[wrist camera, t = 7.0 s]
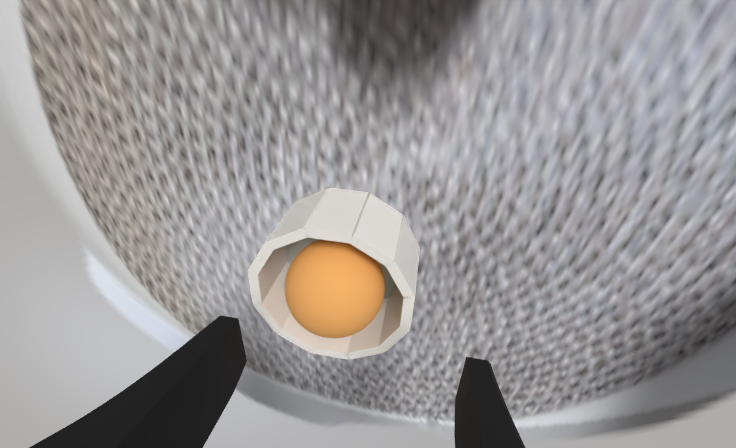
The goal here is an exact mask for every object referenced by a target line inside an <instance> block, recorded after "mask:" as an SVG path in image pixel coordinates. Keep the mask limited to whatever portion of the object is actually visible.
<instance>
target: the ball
mask: <svg viewBox="0 0 736 448" xmlns="http://www.w3.org/2000/svg"><path fill="white" fill-rule="evenodd" d="M384 294H385V281H384V275H383V272H382V269H381V266H380V264H379V262H378V261H377V260H375V259H373V258H372V257H370V256H369V255H367V254H366V253H364V252H362V251H361V250H359V249H358V248H356V247H355V246H353V245H351V244H350V243H343V242H336V241H329V240H322V239H320V240H317V241H315V242H313V243H311V244H309V245H308V246H306V247H305V248H304V249H302V250H301V251H300V252H299V253H298V254H297V256H296V257H295V258H294V260H293V261H292V263H291V265H290V267H289V269H288V272H287V275H286V279H285V297H286V302H287V305H288V308H289V310H290V312H291V314H292V315H293V317H294V318H295V320H296V321H297V322H298V323H299V324H300V325H301V326H302V327H303V328H305V329H306V330H308V331H309V332H311V333H313V334H315V335H318V336H321V337H326V338H343V337H347V336H350V335H353V334H355V333H357V332H359V331H361V330H362V329H364V328H365V327H366V326H367V325H368V324H370V323H371V322H372V320H373V319H374V318H375V317H376V315H377V313H378V312H379V310H380V308H381V305H382V302H383V299H384Z"/></svg>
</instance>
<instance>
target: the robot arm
mask: <svg viewBox="0 0 736 448" xmlns="http://www.w3.org/2000/svg"><path fill="white" fill-rule="evenodd" d="M246 361H247V360H246V355H245V350H244V345H243V340H242V335H241V330H240V325H239V320H238V318H232V317H226V316H219V317H218V318H217V319H216V320H214V321H213V322H212V323H210V324H209V325H208V326H207V327H205V328H204V329H203V330H202V331H201V332H199V333H198V334H197V335H196V336H194V337H193V338H192V339H191V340H189V341H188V342H187V343H186V344H184V345H183V346H182V347H181V348H179V349H178V350H177V351H176V352H174V353H173V354H172V355H170V356H169V357H168V358H167V359H165V360H164V361H163V362H162V363H160V364H159V365H158V366H156V367H155V368H154V369H152V370H151V371H150V372H148V373H147V374H146V375H144V376H143V377H141V378H140V379H139V380H137V381H136V382H135V383H133V384H132V385H131V386H129V387H128V388H126V389H125V390H124V391H122V392H120V393H119V394H118V395H116V396H115V397H113V398H112V399H110V400H109V401H107V402H106V403H104V404H103V405H101V406H99V407H98V408H97V409H95V410H93V411H92V412H90V413H88V414H87V415H85V416H84V417H82V418H80V419H79V420H77V421H76V422H74V423H72V424H70V425H69V426H67V427H65V428H63V429H61V430H60V431H58V432H56V433H54V434H53V435H51V436H49V437H47V438H46V439H44V440H42V441H40V442H39V443H37V444H35V445H34V446H31V447H30V448H203V446H204V444H205V442H206V441H207V439H208V437H209V435H210V434H211V432H212V430H213V428H214V426H215V425H216V423H217V421H218V419H219V418H220V416H221V414H222V412H223V410H224V409H225V407H226V405H227V403H228V401H229V400H230V398H231V396H232V394H233V392H234V390H235V388H236V386H237V383H238V381H239V379H240V376H241V374H242V371H243V369H244V366H245V364H246ZM455 448H525V446H524V444H523V442H522V440H521V437H520V435H519V433H518V431H517V429H516V427H515V425H514V422H513V420H512V418H511V416H510V413H509V411H508V409H507V406H506V404H505V402H504V399H503V397H502V394H501V392H500V389H499V387H498V384H497V381H496V378H495V376H494V373H493V370H492V367H491V364H490V363H489V362H488V361H487V360H481V359H475V358H469V357H466V361H465V365H464V368H463V372H462V376H461V380H460V384H459V388H458V391H457V395H456V399H455Z"/></svg>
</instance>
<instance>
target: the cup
mask: <svg viewBox="0 0 736 448" xmlns="http://www.w3.org/2000/svg"><path fill="white" fill-rule="evenodd" d="M402 216H403V214H401V213H400V212H398V211H397V210H395V209H394V208H392V207H391V206H389V205H388V204H386V203H385V202H383V201H382V200H380V199H379V198H377V197H376V196H374V195H373V194H371V193H370V194H369V195H368V192H362V191H354V190H346V189H338V188H329V189H328V188H326V189H323V190H321V191H319V192H316V193H314V194H311V195H309V196H307V197H304V198H302V199H299V200H297V201H296V202H294V204H293V205H292V206H291V208H290V209H289V211H288V212H287V213H286V215H285V216H284V217H283V219H282V220H281V221H280V223H279V224H278V225H277V227H276V228H275V230H274V231H273V232H272V234H271V235H270V236H269V238H268V239H267V240H266V242H265V243H264V245H263V246H262V248H261V250H260V251H259V253H258V255H257V256H256V258H255V260H254V261H253V263H252V265H251V266H250V268H249V270H248V277H249V284H250V290H251V297H252V303H253V304H254V307H255V308H256V309H257V310H258V312H259V313H260V314H261V315H262V317H263V318H264V319H265V320H266V322H267V323H268V324H269V325H270V327H271V328H272V329H273V330H274V332H275V333H276V332H277V334H278V335H280V336H281V337H283V338H285V339H287V340H288V341H290V342H292V343H294V344H295V345H297V346H299V347H301V348H302V349H304V350H306V351H308V352H310V351H311V353H313V354H319V355H324V356H330V357H336V358H341V359H347V360H348V359H350V360H351V359H356V358H361V357H366V356H370V355H375V354H380V353H384V351H385V352H386V351H387V350H388V349H390V348H391V347H392V346H393V345H394V344H395V343H396V342H397V341H399V340H400V339H401V338H402V337H403V336H404V335H405V334H406V333H408V332H409V330H410V326H411V320H412V313H413V307H414V300H415V291H416V281H417V271H418V261H419V251H420V248H419V247H420V246H419V245H418V243H417V241H416V239H415V237H414V235H413V233H412V231H411V229H410V227H409V225H408V223H407V221H406V219H405V217H404V216H403V217H402ZM320 239H322V240H329V241H336V242H343V243H350V244H351V245H353V246H355V247H356V248H358V249H359V250H361V251H362V252H364V253H366V254H367V255H369V256H370V257H372V258H373V259H375V260H377V261H378V262H379V264H380V266H381V269H382V272H383V275H384V281H385V294H384V299H383V302H382V305H381V308H380V310H379V312H378V313H377V315H376V317H375V318H374V319H373V320H372V322H371V323H370V324H368V325H367V326H366V327H365V328H364V329H362V330H361V331H359V332H357V333H355V334H353V335H350V336H347V337H343V338H326V337H321V336H318V335H315V334H313V333H311V332H309V331H308V330H306V329H305V328H303V327H302V326H301V325H300V324H299V323H298V322H297V321H296V320H295V318H294V317H293V315H292V314H291V312H290V310H289V308H288V305H287V302H286V297H285V279H286V275H287V272H288V269H289V267H290V265H291V263H292V261H293V260H294V258H295V257H296V256H297V254H298V253H299V252H300V251H301V250H302V249H304V248H305V247H306V246H308V245H309V244H311V243H313V242H315V241H317V240H320Z"/></svg>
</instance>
